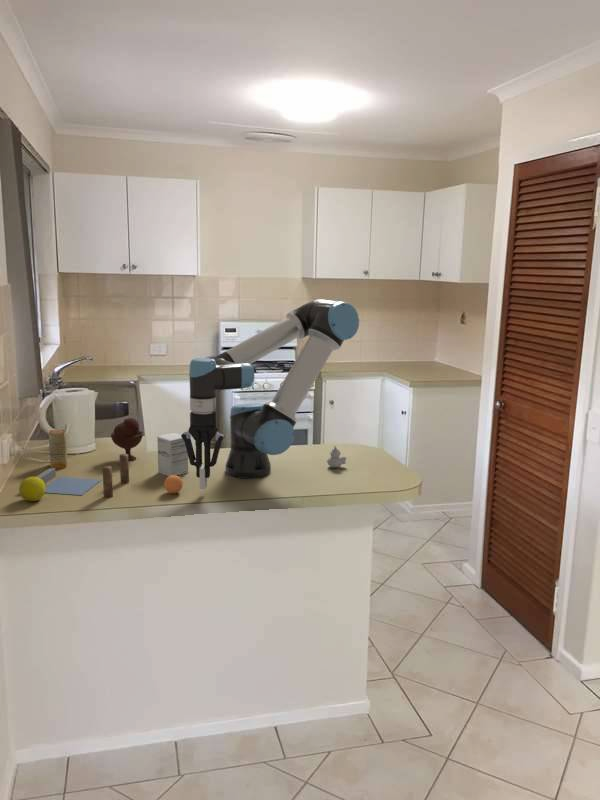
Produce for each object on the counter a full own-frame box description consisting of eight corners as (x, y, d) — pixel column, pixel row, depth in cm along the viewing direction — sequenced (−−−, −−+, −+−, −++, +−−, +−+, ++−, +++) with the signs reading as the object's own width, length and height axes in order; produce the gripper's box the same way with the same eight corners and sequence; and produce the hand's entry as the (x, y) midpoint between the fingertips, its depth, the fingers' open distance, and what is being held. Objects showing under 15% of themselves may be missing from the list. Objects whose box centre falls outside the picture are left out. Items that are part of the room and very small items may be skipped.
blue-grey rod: (55, 476, 211) (55, 468, 210) (29, 493, 195) (28, 485, 195) (50, 475, 211) (49, 468, 211) (23, 492, 196) (22, 484, 195)
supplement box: (157, 472, 216) (156, 436, 213) (175, 468, 221) (174, 432, 219) (170, 478, 211) (169, 440, 208) (189, 473, 216) (188, 436, 214)
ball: (185, 490, 200) (184, 473, 199) (179, 496, 195) (179, 479, 194) (167, 489, 201) (167, 472, 200) (161, 495, 196) (161, 477, 194)
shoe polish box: (67, 463, 224) (65, 429, 221) (66, 467, 219) (64, 433, 217) (52, 464, 223) (49, 430, 220) (50, 468, 218) (48, 434, 215)
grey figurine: (325, 465, 227) (326, 443, 226) (344, 464, 228) (345, 442, 226) (328, 470, 222) (329, 447, 220) (347, 469, 223) (348, 447, 221)
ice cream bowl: (134, 453, 237) (132, 413, 234) (149, 460, 229) (148, 418, 226) (106, 458, 230) (104, 417, 226) (122, 466, 222) (120, 423, 218)
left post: (114, 495, 195) (113, 466, 193) (110, 498, 193) (109, 469, 191) (106, 494, 195) (104, 465, 194) (102, 497, 193) (101, 468, 191)
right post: (130, 481, 207) (129, 454, 205) (127, 483, 205) (126, 456, 203) (122, 480, 208) (121, 453, 206) (119, 483, 205) (118, 456, 203)
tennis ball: (42, 504, 187) (40, 481, 185) (16, 504, 186) (14, 481, 185) (49, 495, 194) (47, 473, 192) (24, 496, 193) (23, 473, 192)
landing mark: (101, 480, 208) (101, 479, 208) (81, 495, 194) (81, 494, 194) (60, 477, 210) (60, 476, 210) (37, 492, 196) (37, 491, 196)
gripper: (177, 412, 188) (178, 490, 193) (221, 415, 187) (221, 493, 192) (185, 407, 196) (186, 482, 201) (227, 409, 194) (227, 485, 199)
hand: (203, 487), depth 196 cm, fingers closed
